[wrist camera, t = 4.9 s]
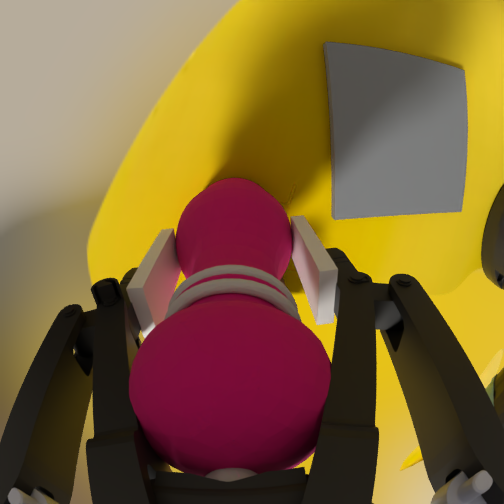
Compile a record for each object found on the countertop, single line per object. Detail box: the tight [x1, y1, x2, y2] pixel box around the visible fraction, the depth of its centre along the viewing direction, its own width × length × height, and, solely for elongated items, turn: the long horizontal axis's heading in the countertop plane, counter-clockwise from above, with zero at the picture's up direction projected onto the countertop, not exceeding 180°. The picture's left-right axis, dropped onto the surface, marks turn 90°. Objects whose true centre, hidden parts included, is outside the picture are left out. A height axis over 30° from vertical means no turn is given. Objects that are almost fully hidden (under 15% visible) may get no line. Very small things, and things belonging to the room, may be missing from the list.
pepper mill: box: [129, 178, 332, 482], centre depth 13 cm, size 7×7×20 cm
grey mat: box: [323, 42, 468, 220], centre depth 19 cm, size 14×14×1 cm
